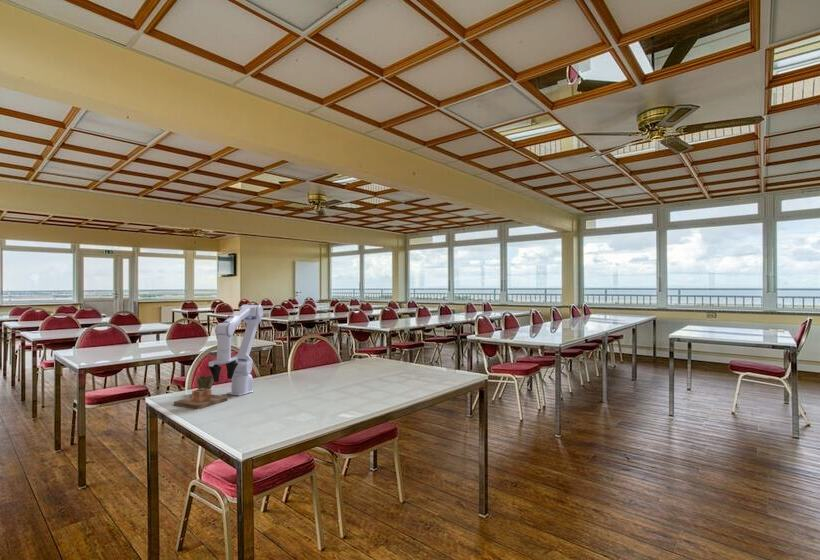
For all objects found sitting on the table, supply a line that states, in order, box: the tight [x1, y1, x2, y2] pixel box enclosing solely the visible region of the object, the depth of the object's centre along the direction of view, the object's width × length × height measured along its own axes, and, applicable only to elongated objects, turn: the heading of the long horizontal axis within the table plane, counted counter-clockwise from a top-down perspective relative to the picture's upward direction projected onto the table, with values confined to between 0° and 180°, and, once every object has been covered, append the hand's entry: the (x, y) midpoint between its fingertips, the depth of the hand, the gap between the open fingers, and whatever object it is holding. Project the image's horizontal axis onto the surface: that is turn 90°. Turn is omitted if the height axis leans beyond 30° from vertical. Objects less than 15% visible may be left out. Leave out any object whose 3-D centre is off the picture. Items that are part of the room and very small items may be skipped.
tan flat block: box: [173, 389, 229, 410], centre depth 187 cm, size 16×14×6 cm
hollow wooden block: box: [191, 388, 212, 401], centre depth 187 cm, size 5×5×4 cm
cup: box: [196, 374, 214, 390], centre depth 203 cm, size 8×7×8 cm
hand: (223, 380), depth 190 cm, fingers open, 7 cm apart
